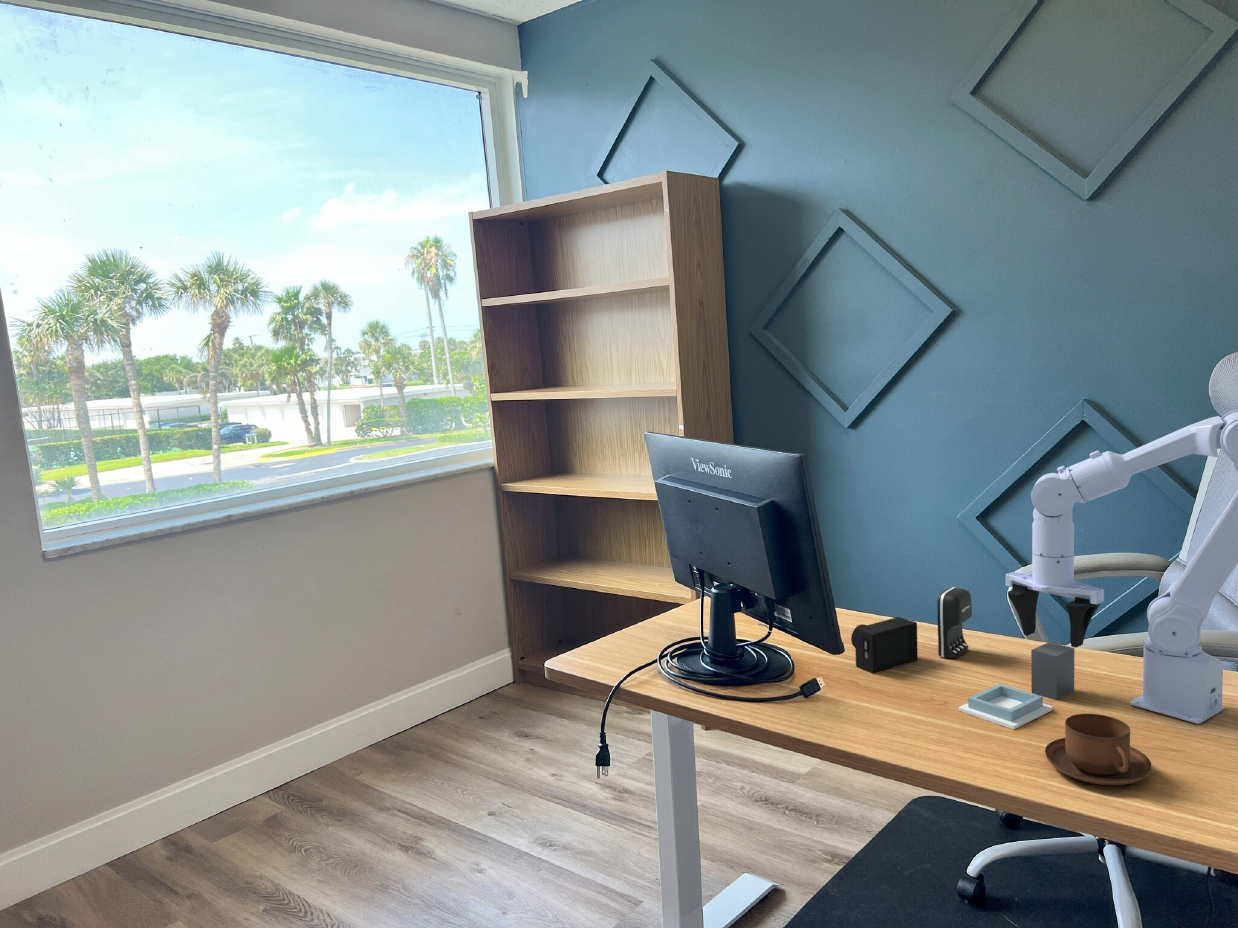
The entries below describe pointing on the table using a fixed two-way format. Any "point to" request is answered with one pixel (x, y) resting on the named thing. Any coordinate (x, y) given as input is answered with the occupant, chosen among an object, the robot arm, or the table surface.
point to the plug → (1052, 670)
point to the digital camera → (885, 644)
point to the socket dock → (1006, 706)
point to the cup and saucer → (1098, 751)
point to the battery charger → (952, 621)
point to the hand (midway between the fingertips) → (1052, 639)
